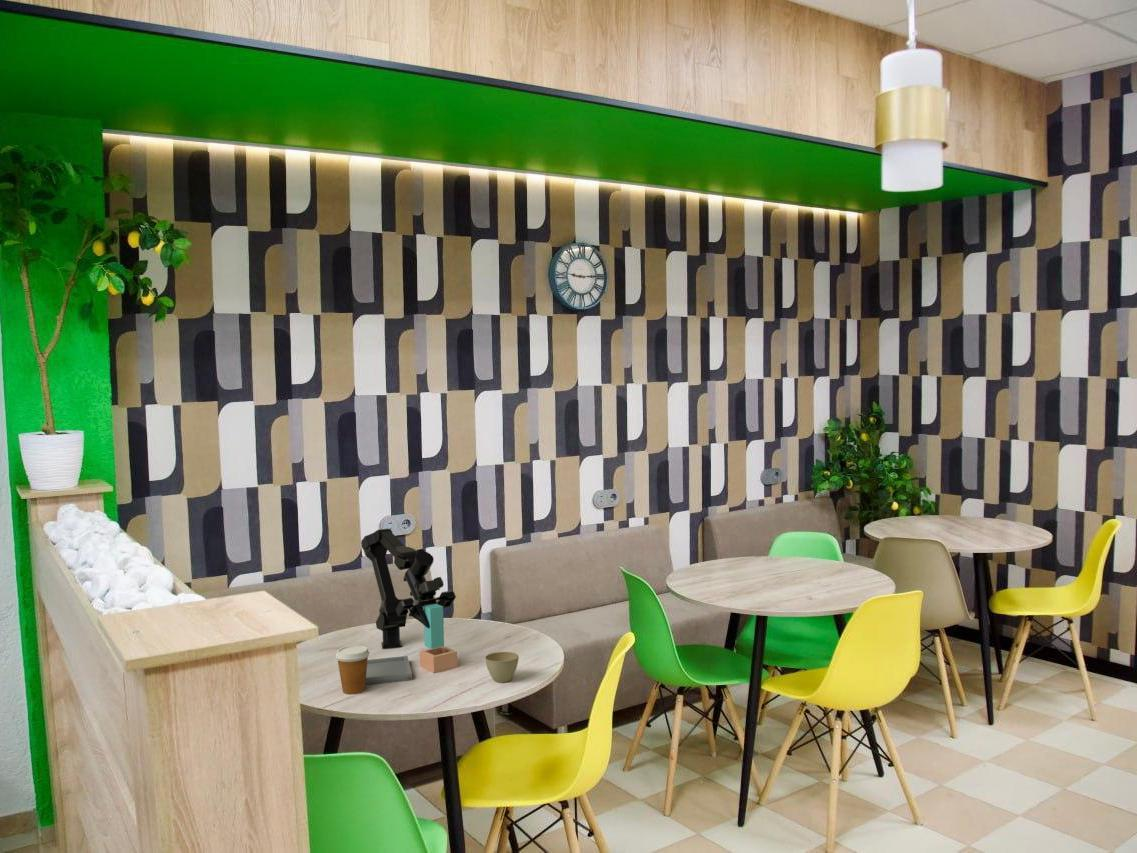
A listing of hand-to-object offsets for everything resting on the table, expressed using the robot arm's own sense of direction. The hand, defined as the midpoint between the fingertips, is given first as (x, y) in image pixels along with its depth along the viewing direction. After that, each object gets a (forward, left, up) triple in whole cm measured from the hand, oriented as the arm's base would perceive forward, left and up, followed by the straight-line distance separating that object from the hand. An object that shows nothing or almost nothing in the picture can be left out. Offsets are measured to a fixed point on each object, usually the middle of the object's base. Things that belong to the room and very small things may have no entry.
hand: (435, 625), depth 282 cm
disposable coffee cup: (+12, -25, -14) cm, 31 cm away
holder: (-2, +1, -13) cm, 14 cm away
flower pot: (+16, +18, -14) cm, 28 cm away
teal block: (-1, -1, -7) cm, 7 cm away
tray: (-1, -16, -13) cm, 21 cm away
